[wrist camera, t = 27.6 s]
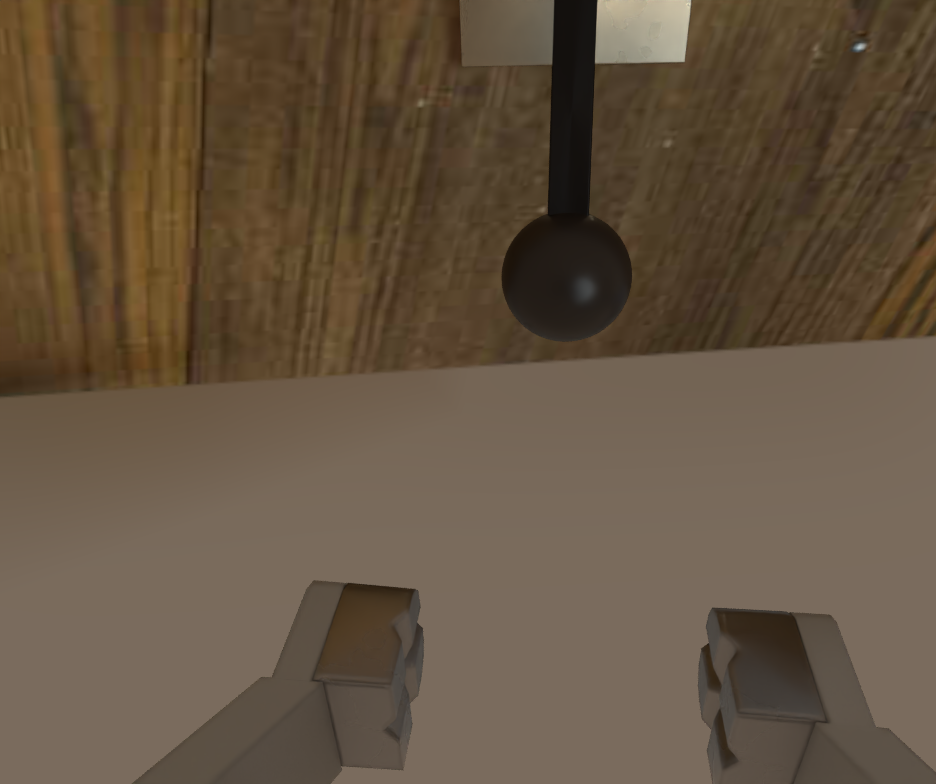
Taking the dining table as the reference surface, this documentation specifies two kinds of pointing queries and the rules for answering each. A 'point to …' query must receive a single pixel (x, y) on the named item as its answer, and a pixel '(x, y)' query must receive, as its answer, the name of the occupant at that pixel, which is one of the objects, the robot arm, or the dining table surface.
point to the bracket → (531, 32)
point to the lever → (568, 207)
